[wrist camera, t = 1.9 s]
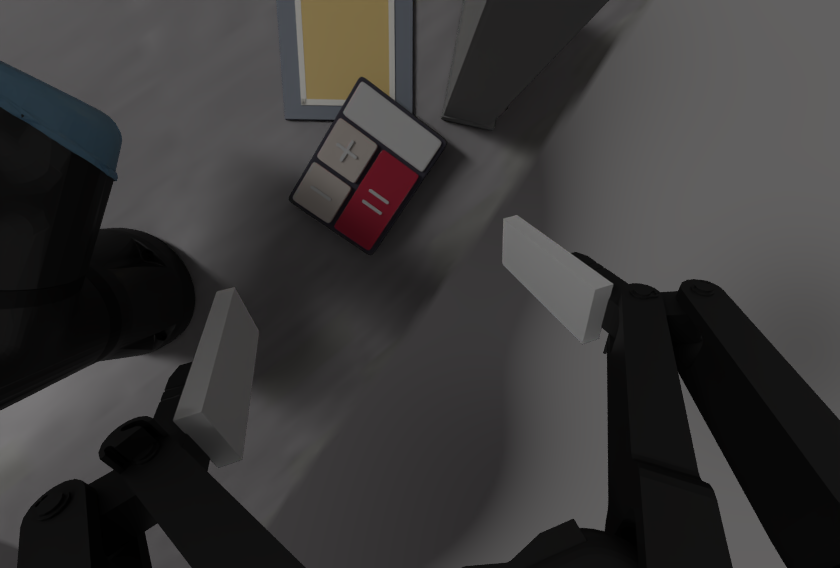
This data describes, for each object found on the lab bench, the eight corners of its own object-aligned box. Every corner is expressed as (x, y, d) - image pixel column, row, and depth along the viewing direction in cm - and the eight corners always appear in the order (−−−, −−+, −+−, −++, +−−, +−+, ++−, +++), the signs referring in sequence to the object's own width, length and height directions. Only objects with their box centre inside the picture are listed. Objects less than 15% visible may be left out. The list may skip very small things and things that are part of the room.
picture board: (286, 119, 37) (284, 118, 37) (269, -113, 33) (267, -118, 33) (412, 121, 38) (412, 120, 37) (412, -107, 34) (412, -112, 33)
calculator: (283, 200, 36) (359, 71, 33) (297, 199, 40) (366, 85, 37) (370, 258, 38) (449, 140, 35) (374, 252, 42) (446, 146, 39)
